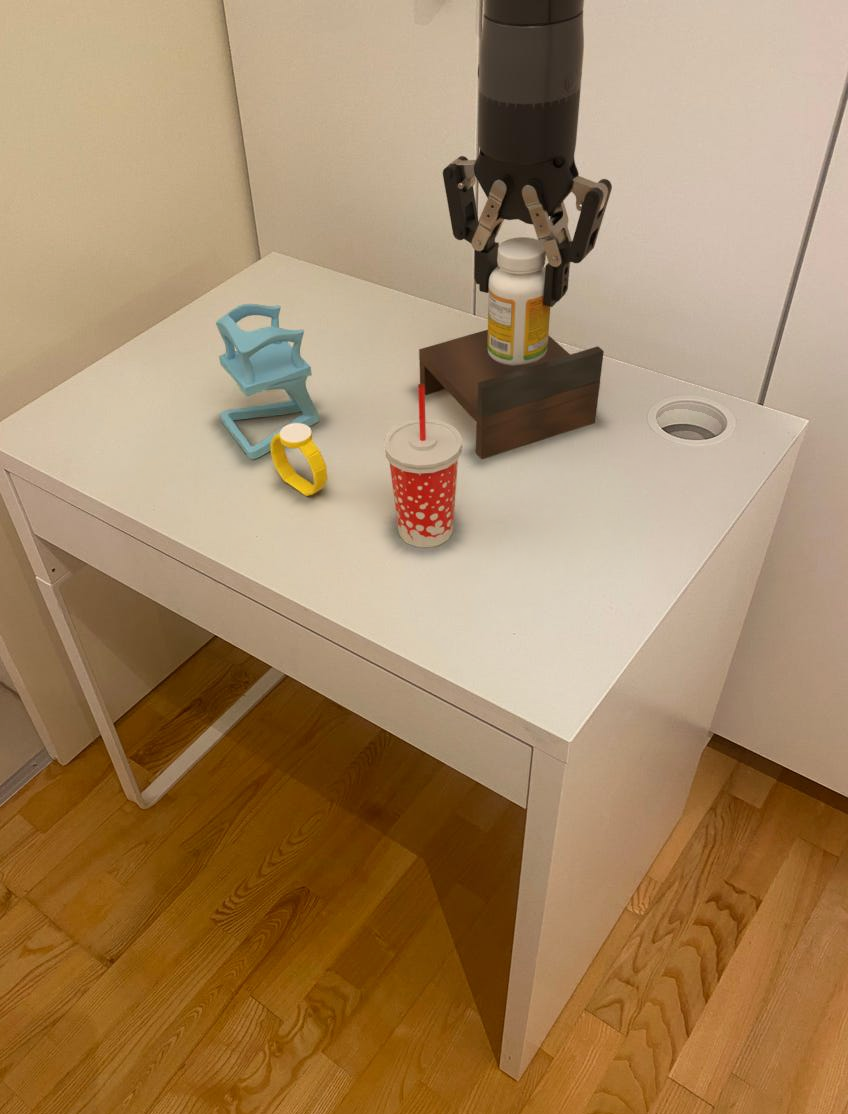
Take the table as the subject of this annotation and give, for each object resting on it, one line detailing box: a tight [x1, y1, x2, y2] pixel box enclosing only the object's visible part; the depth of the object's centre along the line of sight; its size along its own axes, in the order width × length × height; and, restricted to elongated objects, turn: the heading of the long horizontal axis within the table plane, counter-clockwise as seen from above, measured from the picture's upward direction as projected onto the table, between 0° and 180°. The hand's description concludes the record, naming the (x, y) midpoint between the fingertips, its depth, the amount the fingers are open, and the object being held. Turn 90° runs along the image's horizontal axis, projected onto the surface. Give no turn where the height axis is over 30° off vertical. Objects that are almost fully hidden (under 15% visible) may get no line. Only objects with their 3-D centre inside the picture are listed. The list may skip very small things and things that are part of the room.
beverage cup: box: [383, 383, 463, 549], centre depth 78 cm, size 6×6×14 cm
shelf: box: [418, 329, 604, 460], centre depth 93 cm, size 12×13×8 cm
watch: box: [270, 423, 328, 497], centre depth 86 cm, size 6×3×6 cm, turn 45°
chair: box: [215, 303, 320, 460], centre depth 91 cm, size 8×8×12 cm
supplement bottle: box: [487, 236, 551, 366], centre depth 86 cm, size 5×5×10 cm
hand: (519, 294), depth 85 cm, fingers closed on supplement bottle, 5 cm apart
